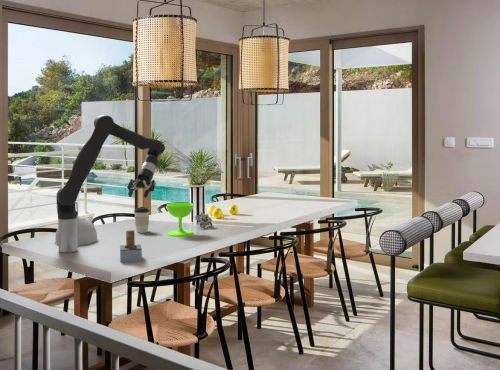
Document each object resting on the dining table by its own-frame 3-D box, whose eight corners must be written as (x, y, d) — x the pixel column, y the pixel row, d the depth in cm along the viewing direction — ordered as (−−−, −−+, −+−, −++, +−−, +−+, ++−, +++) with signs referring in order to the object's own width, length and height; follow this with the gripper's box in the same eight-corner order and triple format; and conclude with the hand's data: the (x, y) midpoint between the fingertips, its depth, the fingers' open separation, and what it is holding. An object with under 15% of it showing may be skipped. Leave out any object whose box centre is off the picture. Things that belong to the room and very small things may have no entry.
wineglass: (161, 234, 339) (160, 204, 337) (180, 230, 351) (179, 201, 349) (180, 237, 329) (180, 207, 327) (199, 233, 342) (199, 204, 340)
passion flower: (205, 236, 359) (197, 223, 353) (196, 231, 368) (188, 217, 361) (218, 225, 363) (211, 212, 357) (209, 220, 372) (201, 207, 365)
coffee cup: (148, 233, 343) (148, 208, 342) (133, 233, 343) (133, 208, 341) (150, 230, 352) (149, 206, 351) (135, 230, 352) (135, 206, 350)
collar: (120, 262, 271) (120, 249, 270) (120, 257, 280) (120, 245, 280) (141, 260, 273) (141, 248, 272) (140, 256, 283) (140, 244, 282)
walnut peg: (126, 260, 274) (126, 231, 273) (126, 258, 278) (125, 230, 277) (135, 259, 275) (134, 231, 274) (134, 257, 279) (134, 229, 278)
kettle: (58, 237, 331) (57, 199, 329) (98, 235, 335) (97, 198, 333) (52, 246, 307) (50, 205, 304) (95, 244, 311) (94, 203, 309)
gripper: (132, 167, 300) (122, 191, 290) (156, 168, 296) (147, 192, 286) (137, 176, 305) (127, 200, 296) (161, 177, 301) (152, 201, 292)
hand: (137, 196), depth 291 cm, fingers open, 8 cm apart
